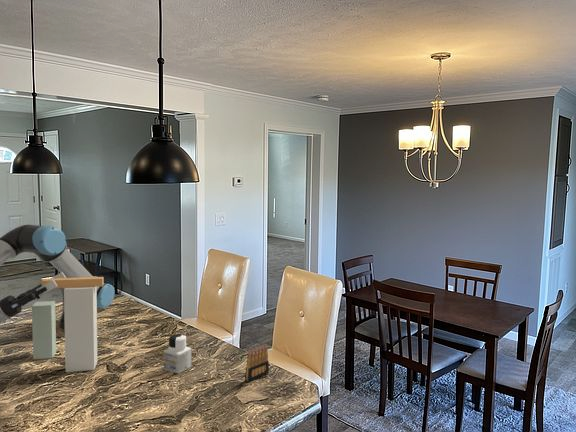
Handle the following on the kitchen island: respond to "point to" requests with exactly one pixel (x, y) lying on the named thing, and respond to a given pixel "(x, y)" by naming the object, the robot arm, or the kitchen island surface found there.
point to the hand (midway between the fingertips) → (59, 278)
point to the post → (80, 328)
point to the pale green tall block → (44, 330)
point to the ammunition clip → (257, 363)
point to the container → (177, 354)
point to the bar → (76, 282)
